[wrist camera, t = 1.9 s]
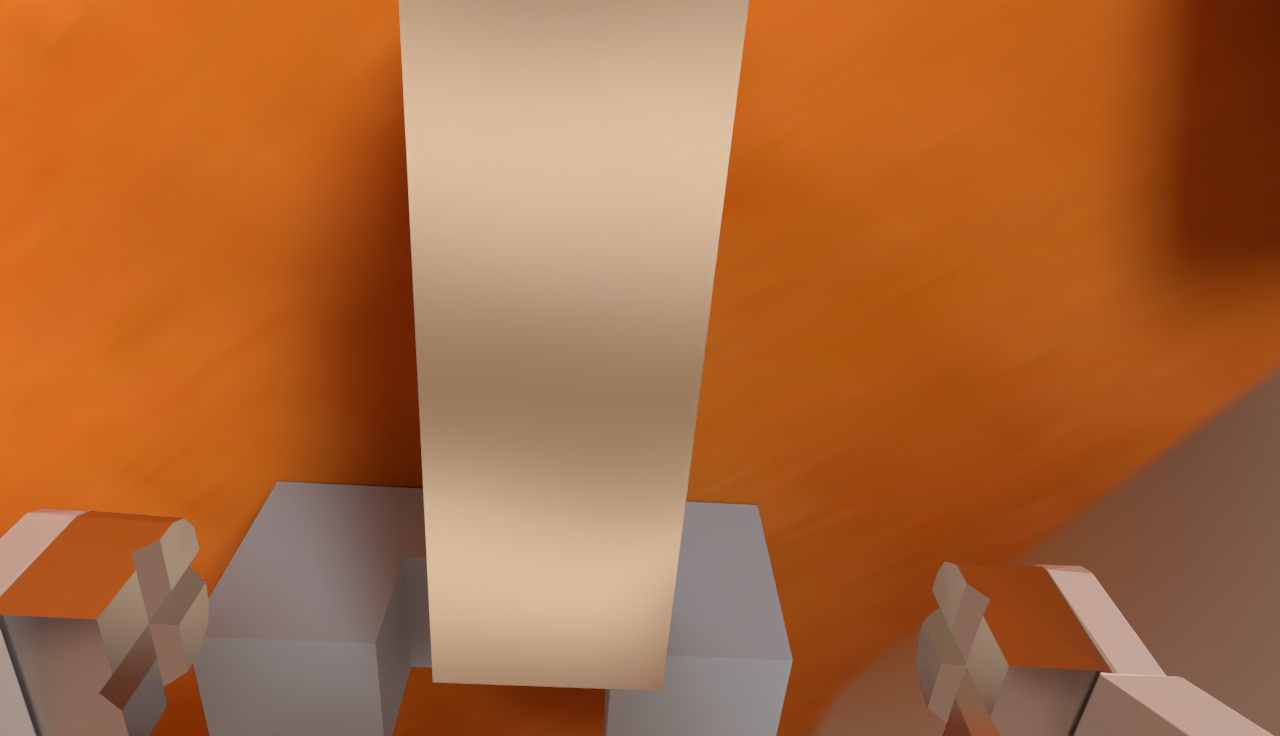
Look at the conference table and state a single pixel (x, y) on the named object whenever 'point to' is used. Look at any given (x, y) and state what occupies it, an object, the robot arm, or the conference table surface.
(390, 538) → the grey notched block
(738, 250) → the conference table surface
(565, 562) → the wooden notched block
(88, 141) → the conference table surface
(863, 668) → the conference table surface
